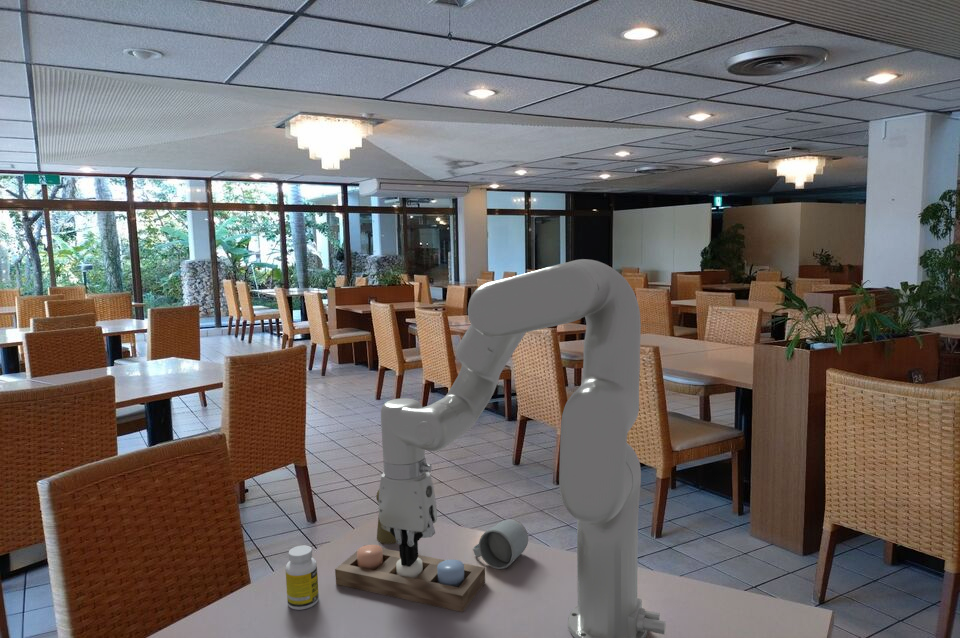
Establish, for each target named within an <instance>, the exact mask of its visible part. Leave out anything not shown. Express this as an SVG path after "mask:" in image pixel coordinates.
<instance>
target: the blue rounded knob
mask: <svg viewBox="0 0 960 638" xmlns="http://www.w3.org/2000/svg"><path fill="white" fill-rule="evenodd" d="M444 560H445V561H442V562H440V563H439V564H438V566H437V572H438V583H439V584H444V585H449V586H454V587H459V586H460V585H461V584H462V583H463V581H464V564H465V563H463V562H462V561H461V560H459V559H444Z"/></svg>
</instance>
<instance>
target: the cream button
mask: <svg viewBox="0 0 960 638" xmlns="http://www.w3.org/2000/svg"><path fill="white" fill-rule="evenodd" d="M396 569H397V575H400V576H405V577H410V578H415V579H416V578H417V577H418V576H419V575H420V574H421V573H422V572H423V566H422V560H421V559H420V558H417V560H416V561H415V562H414V563H413V564H412V565H411V566H410V567H409V566H406V565H405V566H403V565H401V559H399V560H398V561H397V563H396Z"/></svg>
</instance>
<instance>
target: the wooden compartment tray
mask: <svg viewBox="0 0 960 638" xmlns="http://www.w3.org/2000/svg"><path fill="white" fill-rule="evenodd" d="M366 545H367V544H364V545H363V546H366ZM382 549H383V564H381V565H380V566H379V567H378V568H377V569H376V570H371V569H366V568H361V567H358V562H357V551H356V552H355V551H354V553H353V554H352V555H350V557H348V558H347V559H345V560H344V561H343V562H342V563H340V564H339V566H337V567H336V568H335V569H334V573H335V576H334V577H335V584H336V585H338V586H342V587H343V586H344V587H348V588H352V589H356V590H360V591H365V592H370V593H374V594H379V595H383V596H388V597H393V598H398V599H401V600H404V601H405V600H406V601H411V602H415V603H419V604H424V605H428V606H433V607H438V608H443V609H447V610H452V611H456V612H461V613H464V611H466V609H467V607H468V606H469V605H470V603H471V602H472V601H473V599H475V597H476V595H478V592H479V591H480V590H481V589H482V588H483V586H484V585H485V583H486V570H485V569H486V568H485V567H484V566H479V565H473V564H469V563H463V564H464V581H463V583H462V584H461V585H460V586H459V587H454V586H449V585H444V584H439V583H438V572H437V566H438V564H439V563H440V562H442V561H445V560H446V559H441V558H436V557H431V556H426V555H421V554H418V558H420V559H421V560H422V566H423V572H422V573H421V574H420V575H419V576H418V577H417V578H416V579H415V578H410V577H405V576H400V575H397V569H396V563H397V561H398V560H399V559H401V558H400V550H394V549H387V548H382Z"/></svg>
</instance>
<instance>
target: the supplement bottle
mask: <svg viewBox="0 0 960 638" xmlns="http://www.w3.org/2000/svg"><path fill="white" fill-rule="evenodd" d="M317 565H318V563H317V561H316V559H315V558H314V557H313V548H312V547H311V546H309V545H304V544H303V545H297V546H294V547H292V548H291V549H289V550H288V562H287V563H286V565H285V581H286V599H287V606H288V607H289V608H291V609H293V610H296V611H297V610H298V611H300V610H306V609H311V608H313V606H315V605H317V603H318V601H319V596H320V595H319V577H318V576H319V574H318V566H317Z"/></svg>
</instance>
